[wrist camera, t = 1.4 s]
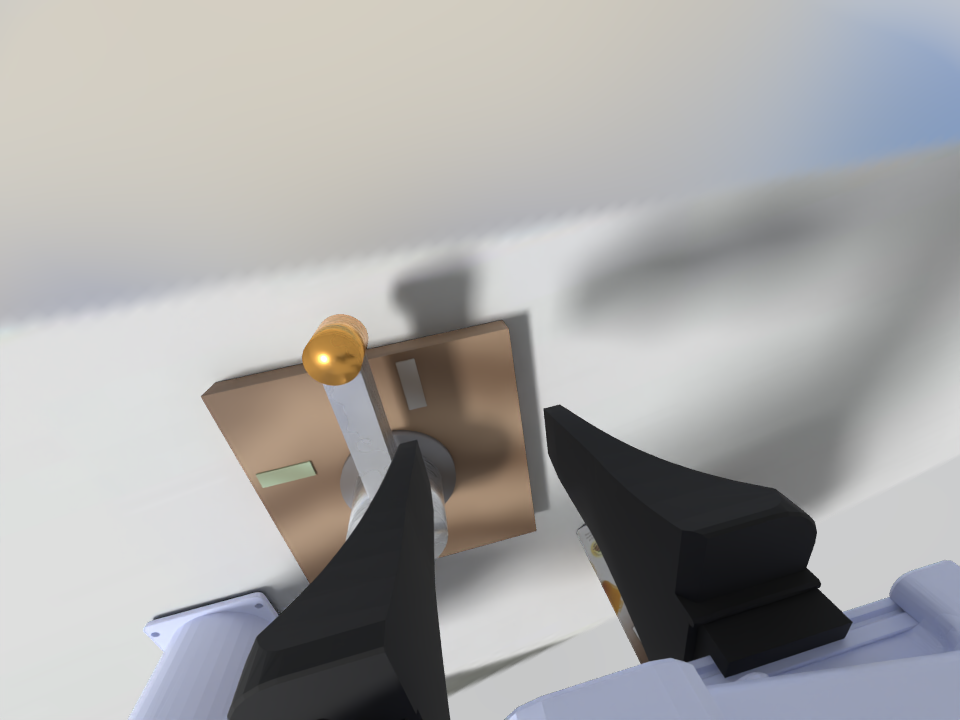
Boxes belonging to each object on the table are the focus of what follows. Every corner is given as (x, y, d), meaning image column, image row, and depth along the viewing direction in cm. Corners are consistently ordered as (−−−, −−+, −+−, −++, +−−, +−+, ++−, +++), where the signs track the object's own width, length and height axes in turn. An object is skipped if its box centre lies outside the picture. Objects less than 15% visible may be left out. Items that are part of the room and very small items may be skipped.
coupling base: (530, 514, 28) (539, 537, 26) (319, 571, 27) (312, 600, 25) (502, 320, 21) (511, 332, 19) (215, 382, 20) (194, 402, 18)
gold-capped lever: (449, 505, 23) (458, 577, 19) (369, 526, 22) (361, 605, 18) (392, 298, 17) (386, 333, 13) (283, 321, 17) (239, 365, 12)
